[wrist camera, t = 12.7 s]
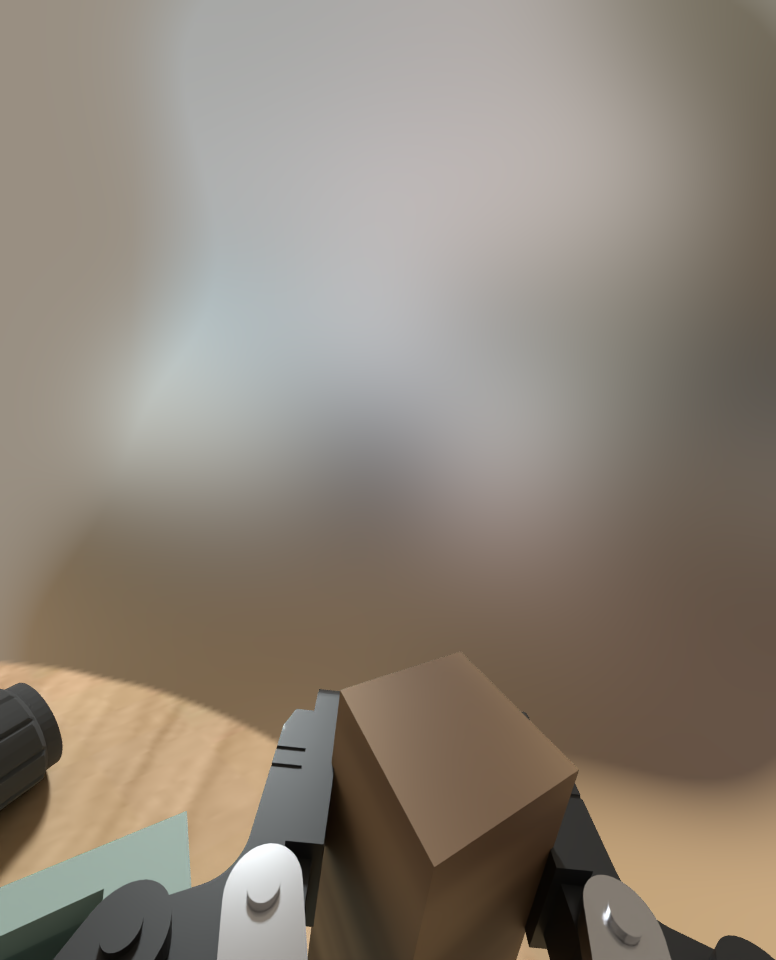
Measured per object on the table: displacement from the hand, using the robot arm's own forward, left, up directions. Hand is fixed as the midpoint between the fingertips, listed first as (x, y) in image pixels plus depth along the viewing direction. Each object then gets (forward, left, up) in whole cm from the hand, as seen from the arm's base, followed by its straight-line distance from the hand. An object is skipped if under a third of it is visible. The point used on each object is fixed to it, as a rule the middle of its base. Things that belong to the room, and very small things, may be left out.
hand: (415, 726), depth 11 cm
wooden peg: (-1, -2, -11) cm, 11 cm away
